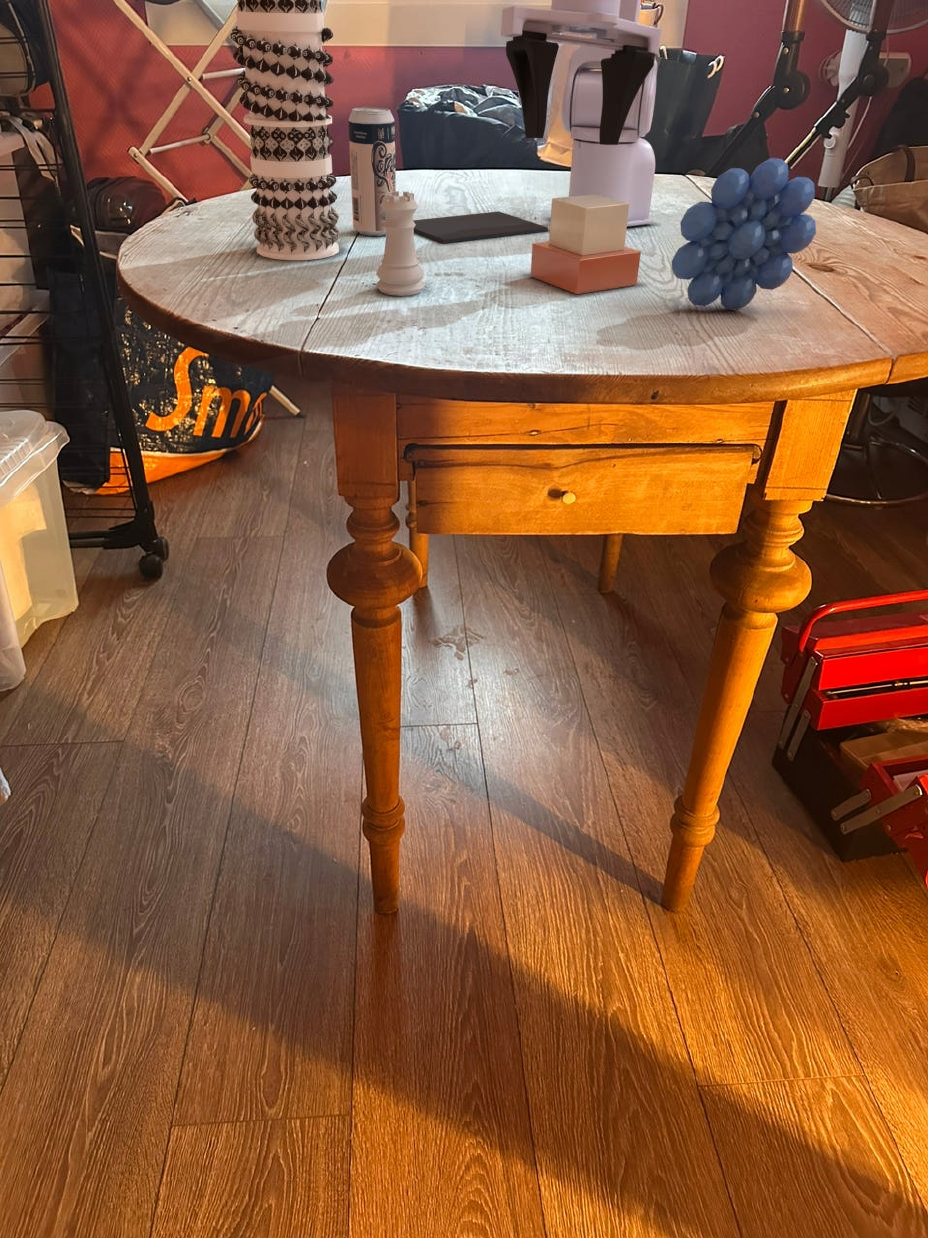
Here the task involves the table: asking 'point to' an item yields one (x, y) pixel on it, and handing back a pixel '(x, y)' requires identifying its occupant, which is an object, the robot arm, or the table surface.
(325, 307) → the table surface
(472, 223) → the rubber mat
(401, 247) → the rook chess piece
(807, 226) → the blue beaded flower
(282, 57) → the decorative candle
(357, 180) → the beer can
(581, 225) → the beige cube
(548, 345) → the table surface
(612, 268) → the glossy orange square block
